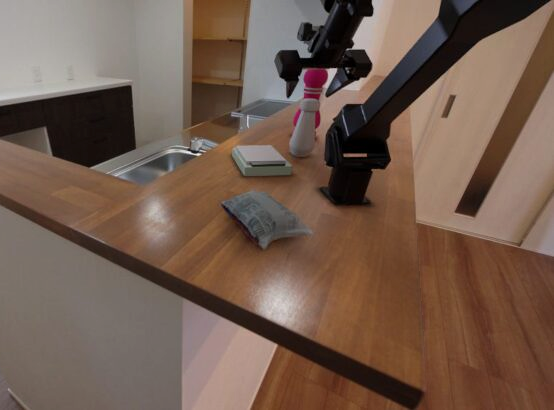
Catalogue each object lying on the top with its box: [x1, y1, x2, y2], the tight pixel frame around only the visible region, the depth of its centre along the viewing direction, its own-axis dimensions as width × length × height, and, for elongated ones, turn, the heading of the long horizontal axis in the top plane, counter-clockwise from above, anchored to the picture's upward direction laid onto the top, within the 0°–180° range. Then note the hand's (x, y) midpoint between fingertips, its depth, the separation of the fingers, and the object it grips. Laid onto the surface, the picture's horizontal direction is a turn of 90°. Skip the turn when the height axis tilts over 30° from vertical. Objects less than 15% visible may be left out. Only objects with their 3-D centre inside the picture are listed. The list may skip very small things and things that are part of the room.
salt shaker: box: [288, 98, 321, 158], centre depth 71 cm, size 6×6×13 cm
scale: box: [231, 144, 293, 177], centre depth 67 cm, size 12×10×3 cm
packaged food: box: [220, 189, 314, 250], centre depth 44 cm, size 9×12×5 cm
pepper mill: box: [291, 69, 329, 137], centre depth 82 cm, size 7×7×20 cm
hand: (306, 96), depth 69 cm, fingers open, 9 cm apart
